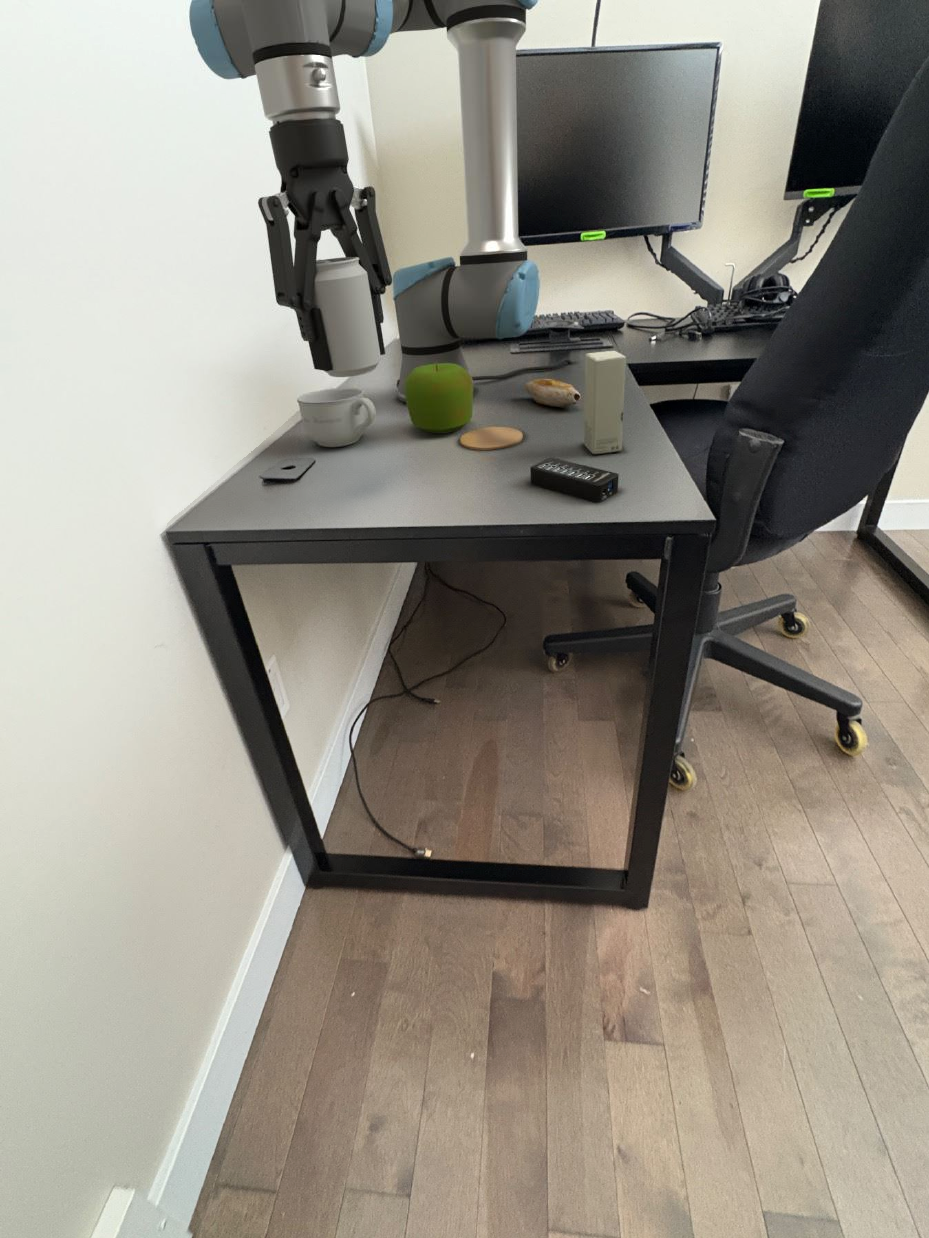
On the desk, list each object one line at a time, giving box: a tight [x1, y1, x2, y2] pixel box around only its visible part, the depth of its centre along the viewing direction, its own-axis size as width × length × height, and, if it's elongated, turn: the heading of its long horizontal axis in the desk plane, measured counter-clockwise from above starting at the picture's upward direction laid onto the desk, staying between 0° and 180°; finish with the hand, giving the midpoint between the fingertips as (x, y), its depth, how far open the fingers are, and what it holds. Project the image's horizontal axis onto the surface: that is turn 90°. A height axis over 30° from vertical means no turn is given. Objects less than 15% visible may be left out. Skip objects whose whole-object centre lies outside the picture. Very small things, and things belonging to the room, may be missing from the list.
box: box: [583, 350, 627, 455], centre depth 84 cm, size 5×4×13 cm
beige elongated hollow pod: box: [524, 378, 582, 408], centre depth 107 cm, size 5×14×4 cm, turn 30°
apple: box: [404, 361, 474, 434], centre depth 99 cm, size 11×11×11 cm
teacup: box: [296, 387, 377, 448], centre depth 98 cm, size 14×11×8 cm
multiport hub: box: [529, 457, 620, 503], centre depth 77 cm, size 4×11×2 cm, turn 45°
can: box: [312, 256, 382, 378], centre depth 71 cm, size 8×8×12 cm
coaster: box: [459, 426, 524, 451], centre depth 95 cm, size 10×10×1 cm
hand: (350, 361), depth 74 cm, fingers closed on can, 7 cm apart
